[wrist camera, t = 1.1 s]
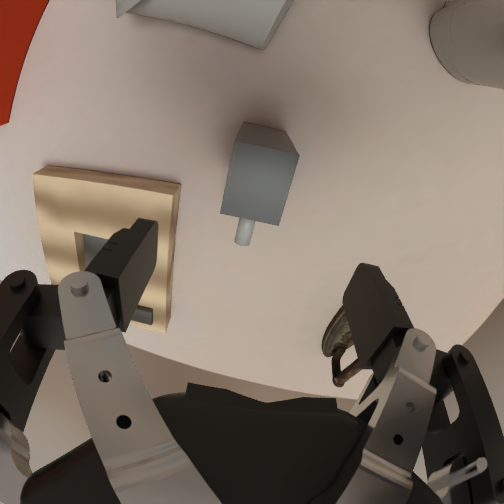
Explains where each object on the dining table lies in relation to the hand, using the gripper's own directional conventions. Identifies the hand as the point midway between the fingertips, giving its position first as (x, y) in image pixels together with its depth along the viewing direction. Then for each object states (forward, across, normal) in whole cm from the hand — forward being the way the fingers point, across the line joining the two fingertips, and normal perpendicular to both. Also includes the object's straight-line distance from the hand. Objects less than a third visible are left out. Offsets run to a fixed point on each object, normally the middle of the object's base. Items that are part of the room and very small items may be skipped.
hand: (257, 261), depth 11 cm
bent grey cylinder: (+18, +10, -19) cm, 29 cm away
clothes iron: (+19, -18, +22) cm, 34 cm away
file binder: (+18, +34, -10) cm, 40 cm away
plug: (+18, 0, +1) cm, 18 cm away
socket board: (+18, +16, +15) cm, 28 cm away
